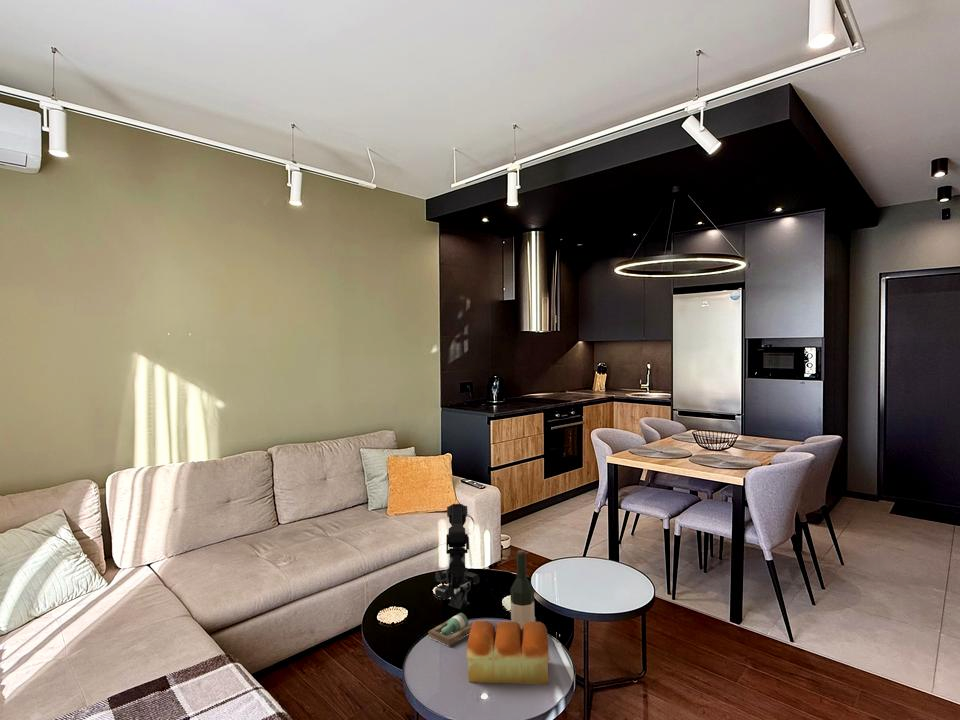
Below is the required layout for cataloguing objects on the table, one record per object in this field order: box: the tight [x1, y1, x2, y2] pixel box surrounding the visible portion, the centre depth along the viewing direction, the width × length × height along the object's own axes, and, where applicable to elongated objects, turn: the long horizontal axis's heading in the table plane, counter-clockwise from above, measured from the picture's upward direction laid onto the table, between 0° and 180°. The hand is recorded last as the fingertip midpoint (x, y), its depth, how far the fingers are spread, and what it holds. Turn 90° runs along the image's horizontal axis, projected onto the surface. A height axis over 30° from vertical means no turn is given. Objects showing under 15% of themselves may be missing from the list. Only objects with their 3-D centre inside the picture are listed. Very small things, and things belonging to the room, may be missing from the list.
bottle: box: [441, 612, 469, 636], centre depth 189 cm, size 6×6×10 cm
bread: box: [466, 620, 550, 685], centre depth 165 cm, size 25×12×15 cm, turn 85°
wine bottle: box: [509, 549, 536, 636], centre depth 187 cm, size 8×8×30 cm
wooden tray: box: [427, 620, 473, 647], centre depth 189 cm, size 14×10×2 cm
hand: (458, 608), depth 192 cm, fingers closed
